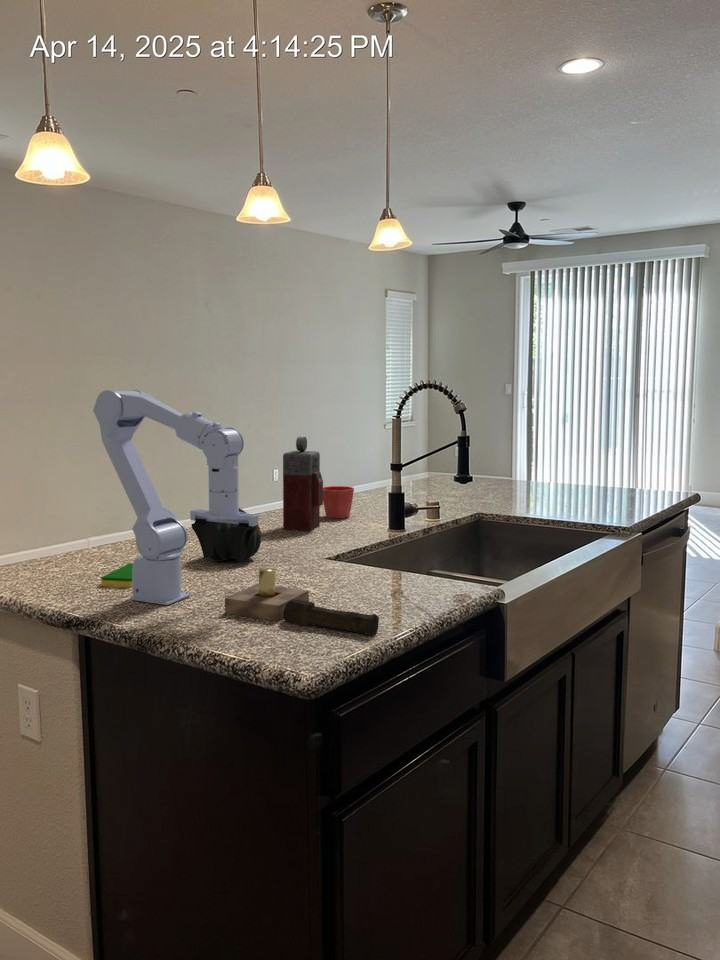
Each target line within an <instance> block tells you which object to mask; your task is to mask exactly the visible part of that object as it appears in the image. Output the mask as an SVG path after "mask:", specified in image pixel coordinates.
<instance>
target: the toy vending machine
mask: <svg viewBox="0 0 720 960" xmlns="http://www.w3.org/2000/svg"><path fill="white" fill-rule="evenodd" d="M295 447H296V450H290V451H288V452H285V453H283V455H282V507H283V508H282V520H283V522H282V524H283V525H282V530H283V529H284V530H285V531H296V530H298V531H300V532H303V531H304V532H312V531H314V530H315V528H316V529H317V527H318V528H319V527H320V521H321V520H320V517H321V515H320V508H321V506H324V503H323V487H324V479H323V476H322V474H321V471H320V467H321V466H320V465H321V463H320V462H321V460H320V459H321V455H320V452H319V451H314V450H311V451H310V450H307V447H308V439H307V437H306V436H297V437H296V440H295ZM284 530H283V531H284Z"/></svg>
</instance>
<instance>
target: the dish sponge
mask: <svg viewBox="0 0 720 960" xmlns="http://www.w3.org/2000/svg"><path fill="white" fill-rule="evenodd" d="M132 567H133V563H128V564H124V565H123V566H122V567H119V568H117V569H115V570H113V571H111V572H109V573H107V574H105V575H103V576H101V577H100V579H101V583H100V584H101V587H107V586H108V587H109V588H111V587H112V588H125V589H126V588H127V589H129V588H130V589H133V588H132Z"/></svg>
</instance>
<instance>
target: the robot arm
mask: <svg viewBox="0 0 720 960" xmlns="http://www.w3.org/2000/svg"><path fill="white" fill-rule="evenodd" d="M92 410H93V414H94V416H95V418H96V420H97V423H98V425H99V429H100V436H101V438H100V439H101V441H102V444H103V446H104V448H105V451H106V453H107V455H108V457H109V459H110V461H111V463H112V466H113V467H114V470H115V472H116V474H117V477H118V478H119V481H120V483H121V485H122V487H123V489H124V492H125V494H126V496H127V498H128V500H129V503H130V504H131V507H132V508H133V510H134V513H135V515H136V516H137V517H136V518H137V519H136V521H135V523H134V524H133V525H132V531H133V534H134V537H135V545H136V549H137V551H138V552H139V554H140V555H138V556H137V557H136V558H135V559H134V561H133V563H132V564H133V567H132V588H131V589H132V596H130V597H129V600H131V601H137V602H143V603H144V602H145V603H151V604H157V605H163V606H164V605H165V606H169V605H171V604H173V603H177V602H178V601H180V600H181V601H182V600H184V599H186V598H188V597H190V596H191V593H188V592H182V570H181V569H182V568H181V567H182V566H181V565H182V563H181V562H182V561H181V560H182V558H181V555H182V554H183V549H184V547H186V545H187V543H188V539H189V538H188V537H189V536H188V531H187V529H186V527H185V525H184V524H183V523H181V522H180V521H179V520H178V518H177V517H176V514H175V513H174V512H172V511H171V510H170V509H169V508H166V507H165V506H164V505H163V503H162V502H161V499H160V497H159V495H158V492H157V491H156V489H155V487H154V484H153V482H152V480H151V478H150V476H149V474H148V472H147V470H146V467H145V465H144V463H143V462H142V459H141V456H140V455H139V452H138V451H137V448H136V447H135V444H134V441H133V440H132V438H133V436H134V434H135V433H136V432H137V430H138V428H139V427H140V426H141V424H142V422H143V421H144V419H145V418H148V419H150V420H152V421H155V422H158V423H159V424H162V425H163V426H166V427H168V428H171V429H172V430H174V431H175V434H176V437H177V438H178V439H180V440H182V441H184V442H186V443H188V444H189V445H192V446H193V447H196V448H198V449H200V450H201V451H202V454H204V456H205V457H206V465H207V466H208V469H207V470H208V509H192V510H190V511H189V512H190V514H189V515H190V519H189V520H190V521H194V523H191V529H192V530H193V532H194V534H195V535H196V538H197V540H198V542H199V545H200V548H201V552H202V556H203V558H204V559H208V558H209V557H212V556H213V536H214V529H215V525H216V522H222V523H232V524H239V526H235V527H232V530H233V534H234V538H235V544H236V558H235V560H236V562H237V563H243V562H245V561H244V560H245V558H246V553H247V549H248V546H249V543H250V540H251V538H252V536H253V534H254V532H255V530H256V528H257V525H259V514H252V513H248V512H246V513H243V512H239V508H240V507H239V455H240V454H241V453H242V451H243V450H244V445H245V444H244V443H245V441H244V438H243V435H242V434H241V432H239V431H238V430H237V429H236V428H235V427H225V428H223V427H222V426H221V423H220V422H218V421H214V422H212V421H210V420H209V419H207V418H205V417H202V415H203V414H202V413H201V412H199V411H187V412H186V413H184V414H183V413H181V412H179V411H178V410H176V409H174V408H172V407H171V406H169V405H166V404H165V403H163V402H161V401H159V400H158V399H157V398H154V397H153V396H152V395H151V394H150V393H147V392H143V391H142V390H139V389H133V390H111V389H107V390H106V389H105V390H102V391H101V392H100V393H99V394H98V396H97V398H96V400H95V404H94V406H93V409H92ZM242 561H243V562H242Z"/></svg>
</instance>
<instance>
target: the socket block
mask: <svg viewBox="0 0 720 960" xmlns="http://www.w3.org/2000/svg"><path fill="white" fill-rule="evenodd" d="M309 595H310V591H309V589H308V590H306V589H298V588H291V587H284V586H277V585H275V597H273V598H267V597H259V583H257V584H254V585H252V586H249V587H247V588H245V589H242V590H241V591H238V592H235V593H234V594H231V595H229V596H226V597H225V598H224V613H225V614H228V615H236V616H242V617H248V618H254V619H255V618H256V619H261V620H267V621H275V622H281V621H282V620H284V616H283V612H284V608H285V606H286V604H287V602H288V601H290V600H291V599H294V600H302V601H306V602H310V599H309V597H310V596H309Z"/></svg>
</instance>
